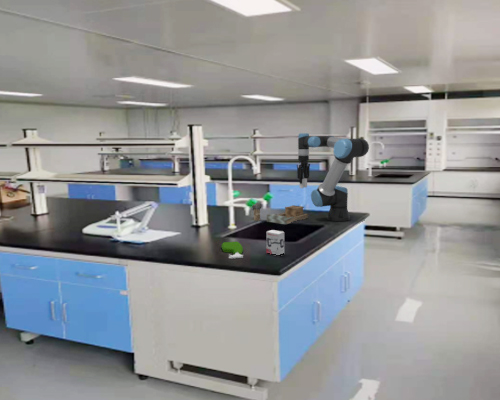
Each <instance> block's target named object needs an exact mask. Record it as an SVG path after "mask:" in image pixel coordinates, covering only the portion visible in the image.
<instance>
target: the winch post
mask: <svg viewBox="0 0 500 400" xmlns="http://www.w3.org/2000/svg"><path fill="white" fill-rule="evenodd" d="M251 208H252V211H253V221H256V222H259V221H260V220H261V218H260V217H261V209H262V203H261V202H256V204H255V205H253V206H252V205H251Z"/></svg>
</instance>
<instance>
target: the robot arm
mask: <svg viewBox="0 0 500 400" xmlns="http://www.w3.org/2000/svg"><path fill="white" fill-rule="evenodd" d="M297 136H298V137H297V143H298V145H297V146H298V147H297V148H298V151H297V152H298V157H297V158H298V164H296V168H297V170H296V171H297V173H296V174H297V179H298V180H299V188H300V189H304V188H305V189H307V188H308V179H309V178H310V169H311V168H310V166H311V164H310V163H309V160H310V148H323V147H324V148H332V149H333V151H332V152H333V156H334V160H333V161H332V164H331V166H330V167H329V170H328V172H327V174H326V176H325V178H324V180H323V182H322V183H320V184H319V185H318V186H317V189H313V190H311V193H310V197H311V198H310V199H311V202H312V204H313V205H314V206H315V207H317V208H319V207H320V208H323V207H329V211H328V213H327V220H328V221H331V222H347V221H350V219H351V218H350V217H351V216H350V212H349V209H348V199H349V197H348V195H349V192H348V188H347V187H345V186H338V183H339V181H340V179H341V177H342V176H343V173H344V172H345V170H346V168H347V166H348V164H351V163H352V161H353V160H354V159H355V158H362V157H365V155H367V154H368V153H369V150H370V144H369V142H368V141H367V140H365V139H364V138H360V137H359V138H344V137H338V136H337V137H336V136H334V135H315V136H313V135H312V136H310V133H308V132H306V133H305V132H304V133H302V132H300V133H298V135H297Z"/></svg>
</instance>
